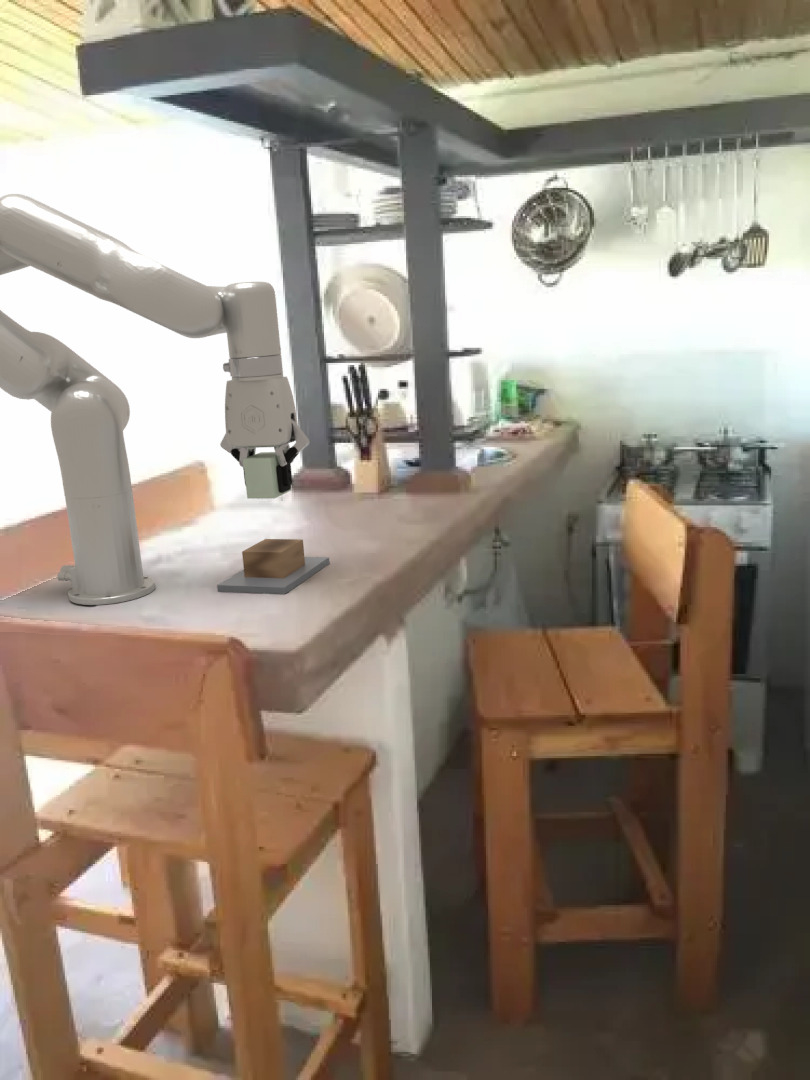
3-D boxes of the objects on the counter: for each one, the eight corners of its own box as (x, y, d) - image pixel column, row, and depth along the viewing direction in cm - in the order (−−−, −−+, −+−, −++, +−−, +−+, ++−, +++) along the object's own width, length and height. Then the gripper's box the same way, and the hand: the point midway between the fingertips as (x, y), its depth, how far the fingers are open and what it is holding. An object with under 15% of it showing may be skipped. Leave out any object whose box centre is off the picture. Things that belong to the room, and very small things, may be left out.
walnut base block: (244, 577, 142) (242, 551, 141) (267, 563, 150) (265, 538, 149) (283, 578, 140) (281, 552, 139) (305, 564, 148) (302, 539, 147)
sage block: (247, 498, 140) (243, 458, 139) (265, 490, 146) (261, 452, 144) (274, 498, 139) (270, 458, 137) (291, 490, 144) (287, 451, 143)
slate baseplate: (217, 591, 139) (216, 585, 139) (267, 561, 155) (267, 555, 154) (285, 594, 136) (284, 587, 135) (329, 563, 151) (329, 557, 151)
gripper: (193, 373, 137) (207, 496, 141) (299, 368, 132) (310, 495, 136) (218, 369, 144) (231, 486, 148) (319, 364, 138) (330, 485, 143)
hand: (269, 489), depth 142 cm, fingers closed on sage block, 4 cm apart
